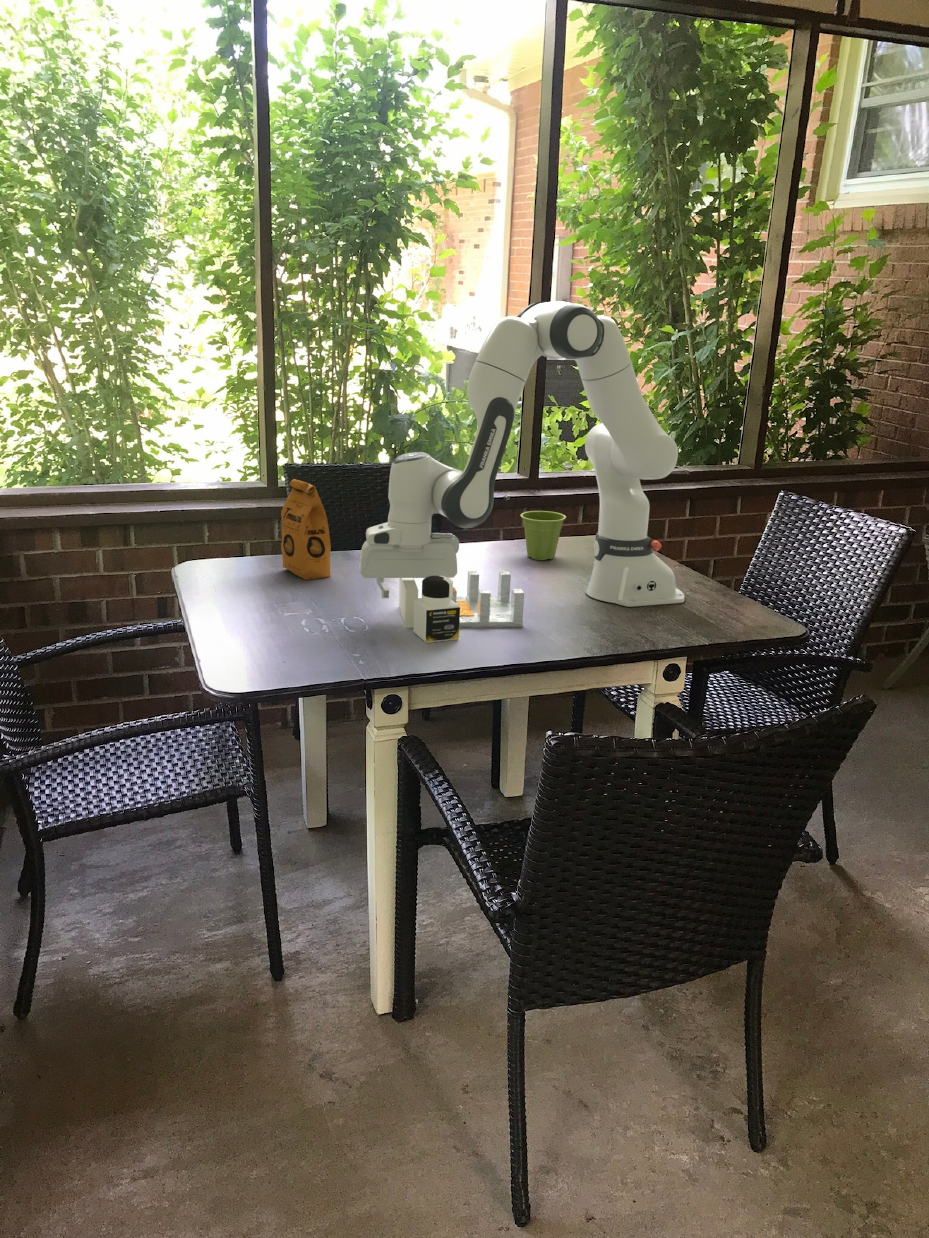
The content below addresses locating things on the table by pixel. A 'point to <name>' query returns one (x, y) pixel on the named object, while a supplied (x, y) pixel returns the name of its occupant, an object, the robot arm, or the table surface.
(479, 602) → the panel rack
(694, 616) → the table surface
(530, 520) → the plant pot
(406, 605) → the panel
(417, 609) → the medicine bottle
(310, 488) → the coffee package
